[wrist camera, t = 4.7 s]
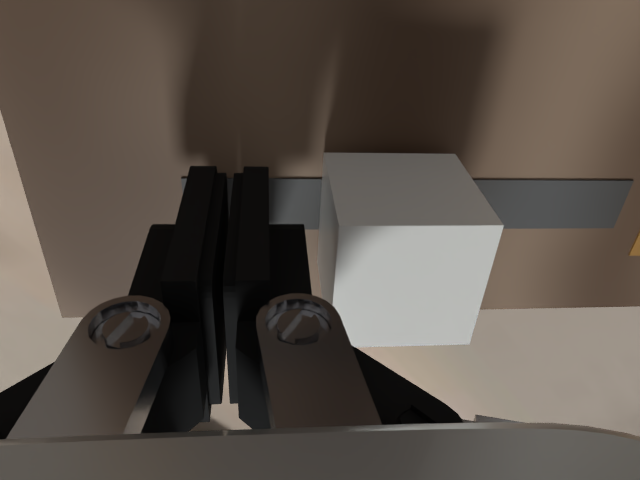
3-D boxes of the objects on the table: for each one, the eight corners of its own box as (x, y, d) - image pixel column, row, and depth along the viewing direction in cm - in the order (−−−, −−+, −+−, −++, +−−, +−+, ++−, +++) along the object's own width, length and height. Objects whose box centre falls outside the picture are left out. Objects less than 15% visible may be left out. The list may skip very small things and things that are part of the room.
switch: (455, 153, 12) (503, 225, 10) (432, 260, 14) (469, 344, 11) (323, 152, 12) (339, 225, 9) (317, 261, 13) (328, 347, 11)
